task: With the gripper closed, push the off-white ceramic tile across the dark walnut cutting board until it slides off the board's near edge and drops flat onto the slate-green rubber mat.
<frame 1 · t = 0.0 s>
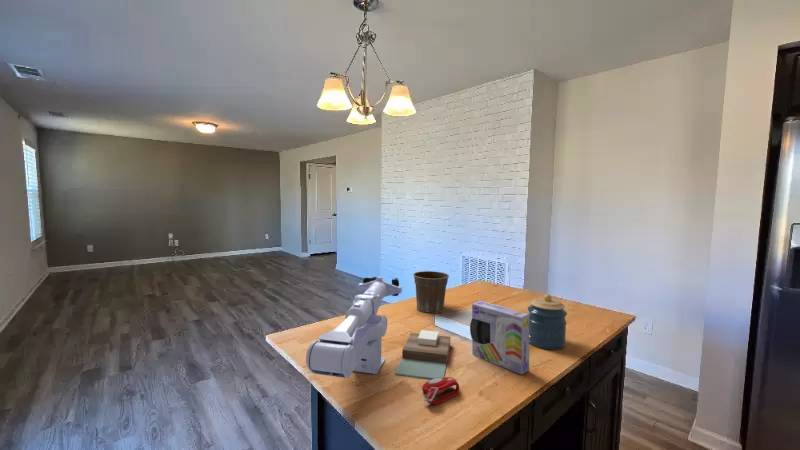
hand: (386, 280, 123), 22 cm above the kitchen island, tool horizontal, fingers open, 7 cm apart
tracker holder: (436, 395, 91), on the kitchen island
plant pot: (430, 309, 160), on the kitchen island
tile: (428, 340, 117), point 3 cm above the kitchen island, touching board
board: (427, 351, 116), on the kitchen island
mat: (421, 369, 104), on the kitchen island
canister: (545, 343, 125), on the kitchen island
cake pan box: (497, 362, 109), on the kitchen island
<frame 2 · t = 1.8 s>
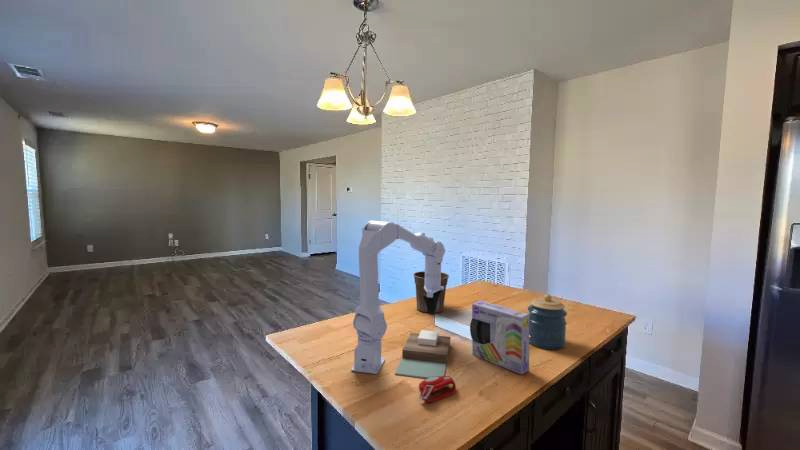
hand: (431, 311, 125), 10 cm above the kitchen island, tool pointing down, fingers open, 5 cm apart
tracker holder: (432, 394, 92), on the kitchen island
everything else where it was.
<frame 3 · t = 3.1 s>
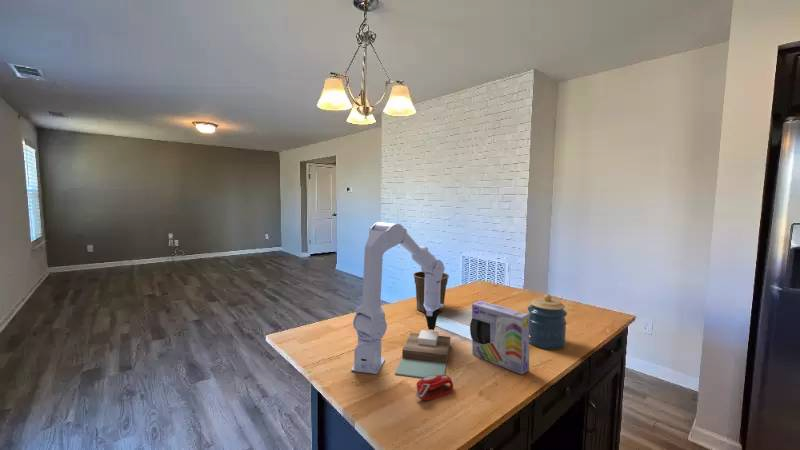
hand: (431, 329, 125), 4 cm above the kitchen island, tool pointing down, fingers closed
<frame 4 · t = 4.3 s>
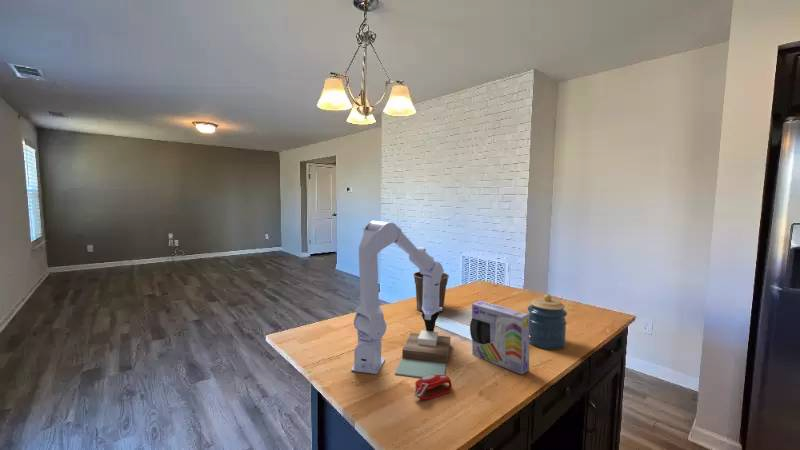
hand: (430, 333, 121), 4 cm above the kitchen island, tool pointing down, fingers closed
tile: (428, 340, 117), point 3 cm above the kitchen island, touching board, gripper
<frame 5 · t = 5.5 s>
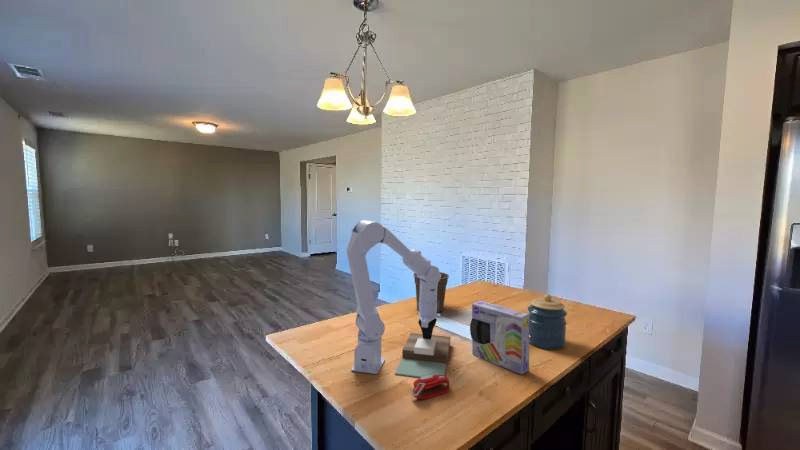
hand: (427, 340, 115), 4 cm above the kitchen island, tool pointing down, fingers closed
tile: (425, 349, 111), point 3 cm above the kitchen island, touching gripper
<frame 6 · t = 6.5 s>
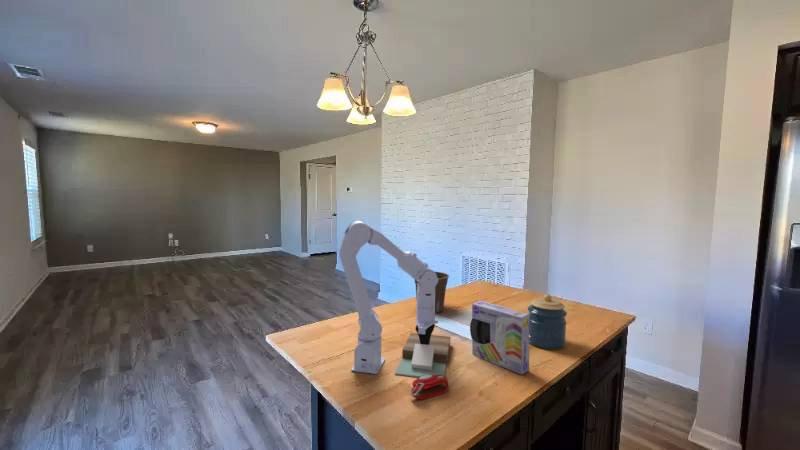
hand: (424, 347, 110), 4 cm above the kitchen island, tool pointing down, fingers closed
tile: (423, 358, 106), point 2 cm above the kitchen island, tilted 32°, touching gripper, mat
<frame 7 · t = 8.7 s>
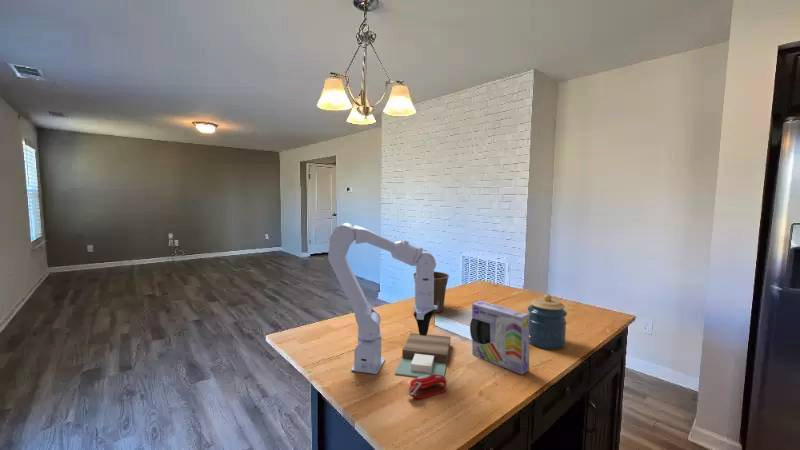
hand: (423, 334, 106), 9 cm above the kitchen island, tool pointing down, fingers closed
tile: (422, 366, 105), resting on mat
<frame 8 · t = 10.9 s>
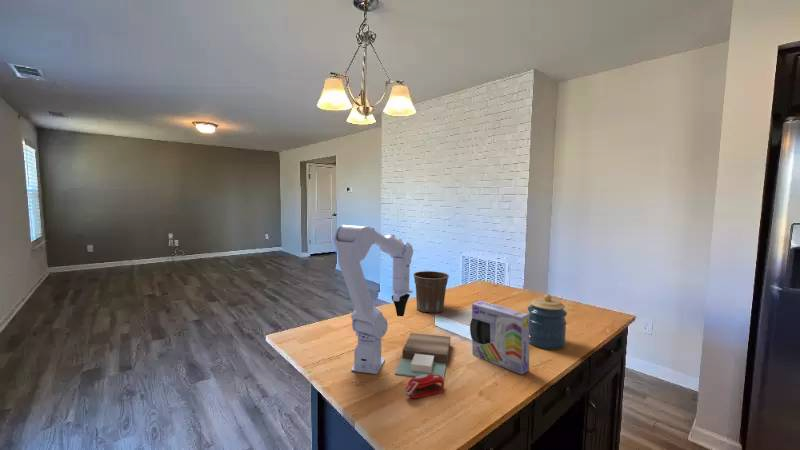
hand: (400, 315, 120), 10 cm above the kitchen island, tool pointing down, fingers closed
at the end: tile inside the target area (1.5 cm from its centre), resting on mat; tile resting on mat; tile touching mat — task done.
